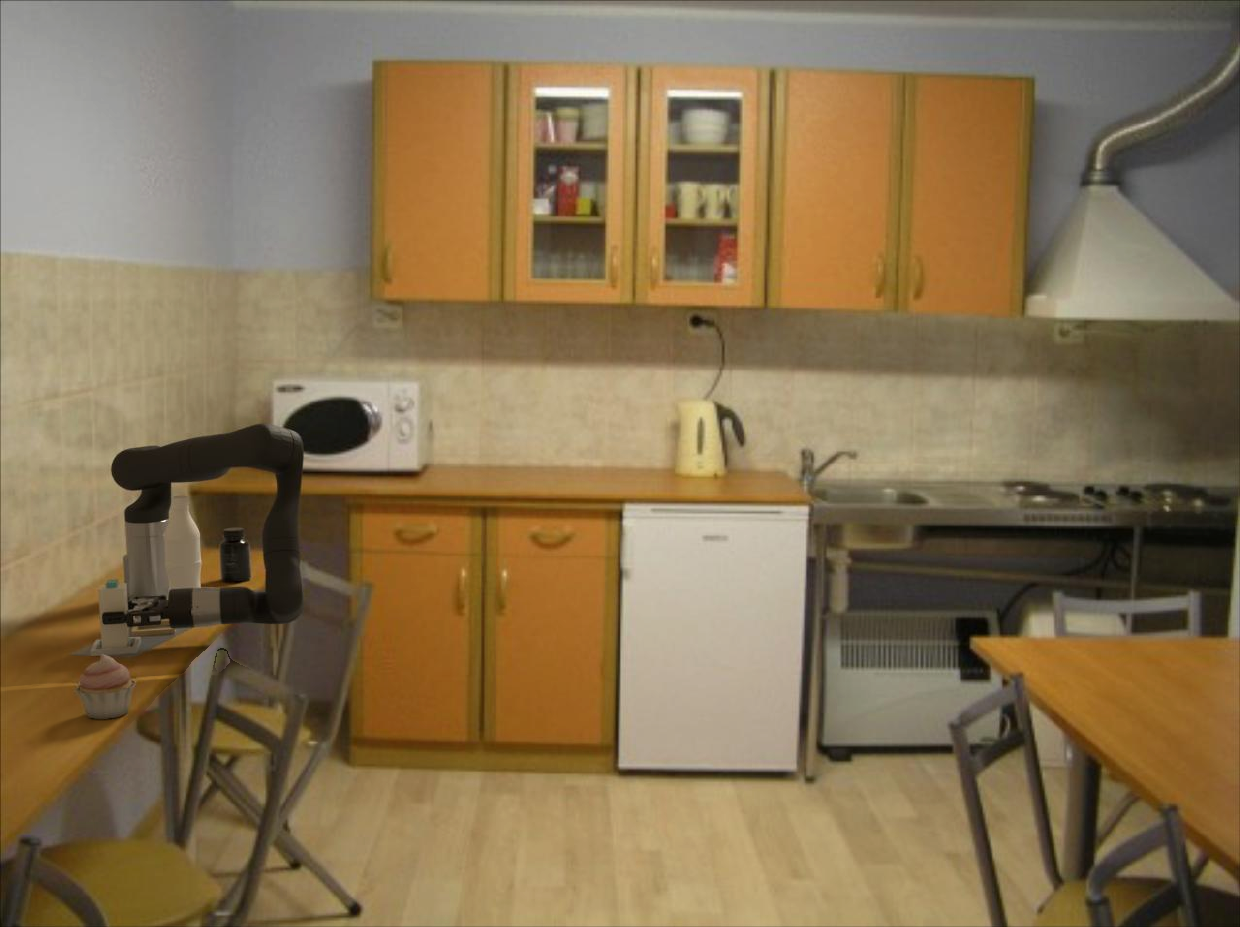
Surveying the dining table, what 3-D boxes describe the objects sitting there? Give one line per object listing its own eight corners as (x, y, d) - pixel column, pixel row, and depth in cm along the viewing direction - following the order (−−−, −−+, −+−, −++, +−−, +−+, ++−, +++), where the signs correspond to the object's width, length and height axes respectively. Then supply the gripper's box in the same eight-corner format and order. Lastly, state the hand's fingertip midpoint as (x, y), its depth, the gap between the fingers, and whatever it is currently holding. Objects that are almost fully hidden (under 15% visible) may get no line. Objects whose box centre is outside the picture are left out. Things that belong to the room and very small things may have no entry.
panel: (68, 658, 257) (67, 649, 256) (140, 624, 281) (139, 617, 280) (132, 661, 254) (131, 652, 254) (199, 627, 278) (198, 619, 278)
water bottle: (193, 620, 284) (187, 500, 280) (161, 619, 285) (154, 499, 282) (210, 612, 291) (204, 494, 287) (179, 610, 292) (172, 493, 289)
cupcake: (90, 705, 229) (86, 646, 227) (146, 705, 228) (143, 646, 227) (66, 723, 219) (62, 662, 218) (124, 723, 219) (120, 662, 218)
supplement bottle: (257, 578, 322) (255, 528, 320) (235, 584, 316) (232, 532, 315) (237, 575, 326) (234, 525, 324) (214, 581, 320) (211, 530, 318)
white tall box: (102, 652, 258) (97, 584, 256) (105, 646, 262) (100, 579, 260) (127, 651, 259) (123, 583, 257) (130, 644, 263) (126, 577, 261)
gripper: (196, 580, 269) (108, 585, 266) (192, 596, 256) (99, 602, 252) (198, 617, 270) (110, 623, 267) (194, 636, 257) (101, 642, 253)
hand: (105, 613), depth 259 cm, fingers open, 8 cm apart
